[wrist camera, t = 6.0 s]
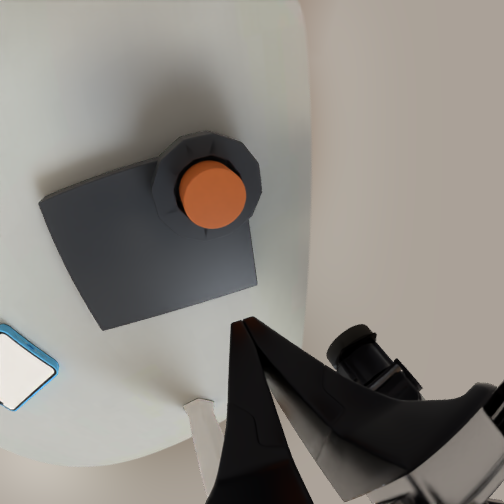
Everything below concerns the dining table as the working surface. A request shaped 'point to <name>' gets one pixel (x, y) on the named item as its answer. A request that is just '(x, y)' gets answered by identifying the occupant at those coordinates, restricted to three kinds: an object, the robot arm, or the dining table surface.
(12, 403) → the smartphone
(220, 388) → the dining table surface
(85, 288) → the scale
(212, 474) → the perfume bottle
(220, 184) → the button
